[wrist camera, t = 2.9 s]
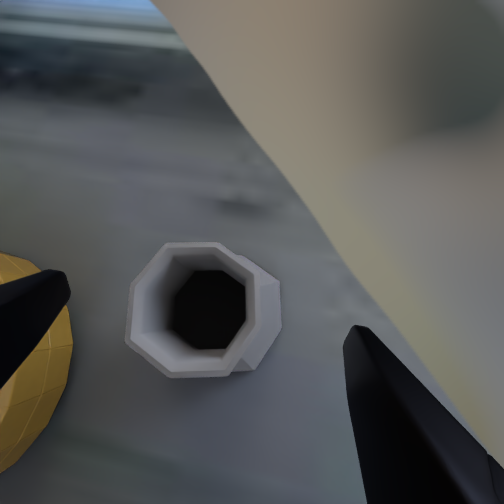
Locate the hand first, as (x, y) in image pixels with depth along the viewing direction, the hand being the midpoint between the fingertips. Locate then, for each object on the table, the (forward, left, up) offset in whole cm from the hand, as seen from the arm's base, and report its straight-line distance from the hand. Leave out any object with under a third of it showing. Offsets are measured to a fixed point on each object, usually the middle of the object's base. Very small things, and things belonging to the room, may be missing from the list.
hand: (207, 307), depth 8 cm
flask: (0, 0, -8) cm, 8 cm away
